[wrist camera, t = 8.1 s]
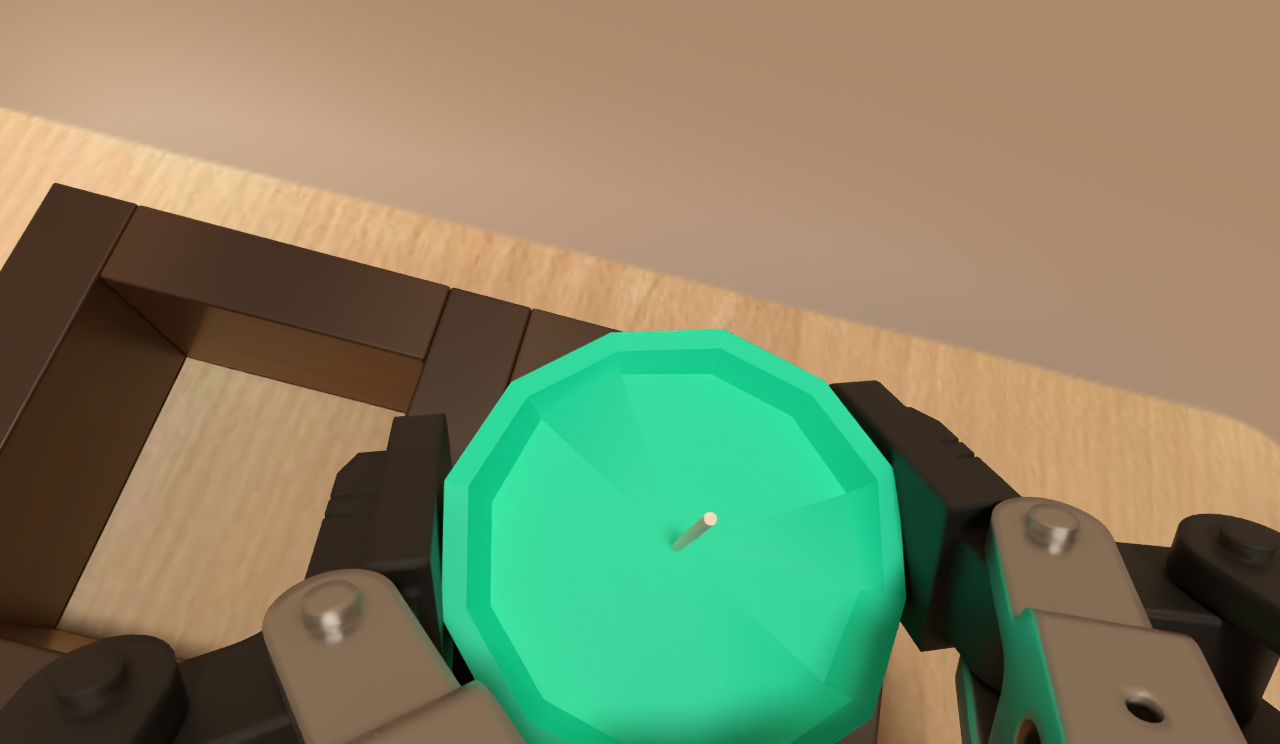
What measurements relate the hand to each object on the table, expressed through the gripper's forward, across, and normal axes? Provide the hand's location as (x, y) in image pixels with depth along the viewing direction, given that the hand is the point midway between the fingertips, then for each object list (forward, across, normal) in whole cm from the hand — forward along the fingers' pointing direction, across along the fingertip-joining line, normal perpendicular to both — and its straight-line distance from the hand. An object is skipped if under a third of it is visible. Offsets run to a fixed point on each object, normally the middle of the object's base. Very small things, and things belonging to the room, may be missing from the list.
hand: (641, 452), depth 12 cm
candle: (+5, 0, +7) cm, 9 cm away
